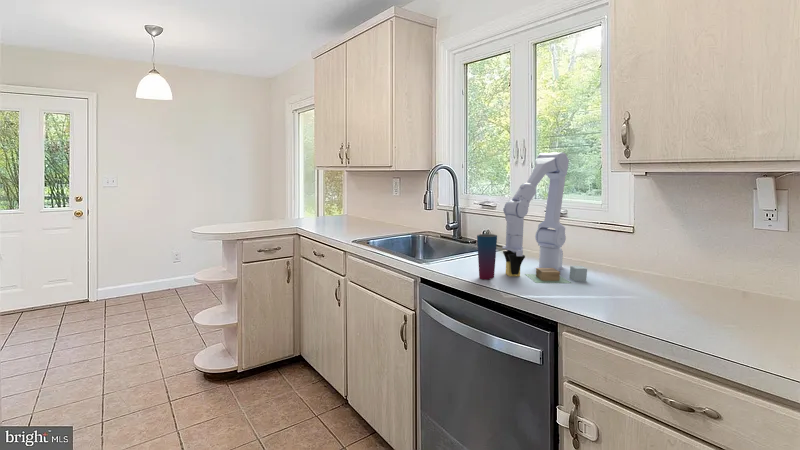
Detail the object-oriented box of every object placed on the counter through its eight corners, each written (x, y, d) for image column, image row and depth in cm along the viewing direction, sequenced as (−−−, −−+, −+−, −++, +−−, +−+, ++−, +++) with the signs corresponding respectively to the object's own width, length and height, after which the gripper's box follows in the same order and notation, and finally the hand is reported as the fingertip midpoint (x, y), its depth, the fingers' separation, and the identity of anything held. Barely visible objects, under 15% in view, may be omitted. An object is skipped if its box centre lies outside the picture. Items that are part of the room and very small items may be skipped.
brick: (569, 280, 146) (570, 265, 145) (580, 280, 146) (581, 266, 146) (574, 283, 142) (575, 268, 141) (586, 283, 142) (587, 268, 142)
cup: (496, 280, 143) (497, 236, 141) (476, 280, 144) (476, 236, 143) (496, 276, 150) (496, 234, 148) (476, 275, 151) (477, 233, 149)
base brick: (535, 276, 148) (536, 267, 148) (552, 276, 148) (553, 267, 148) (541, 280, 142) (542, 271, 142) (559, 280, 142) (560, 271, 142)
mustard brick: (505, 275, 152) (506, 261, 151) (516, 275, 152) (517, 261, 151) (508, 277, 148) (509, 264, 147) (519, 278, 148) (520, 264, 147)
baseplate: (524, 275, 151) (524, 274, 151) (557, 276, 151) (558, 274, 151) (535, 284, 139) (535, 282, 139) (571, 284, 139) (572, 283, 139)
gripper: (498, 231, 155) (496, 267, 157) (508, 237, 141) (507, 277, 143) (517, 231, 155) (515, 267, 157) (529, 237, 141) (527, 277, 143)
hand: (512, 272), depth 150 cm, fingers open, 4 cm apart
